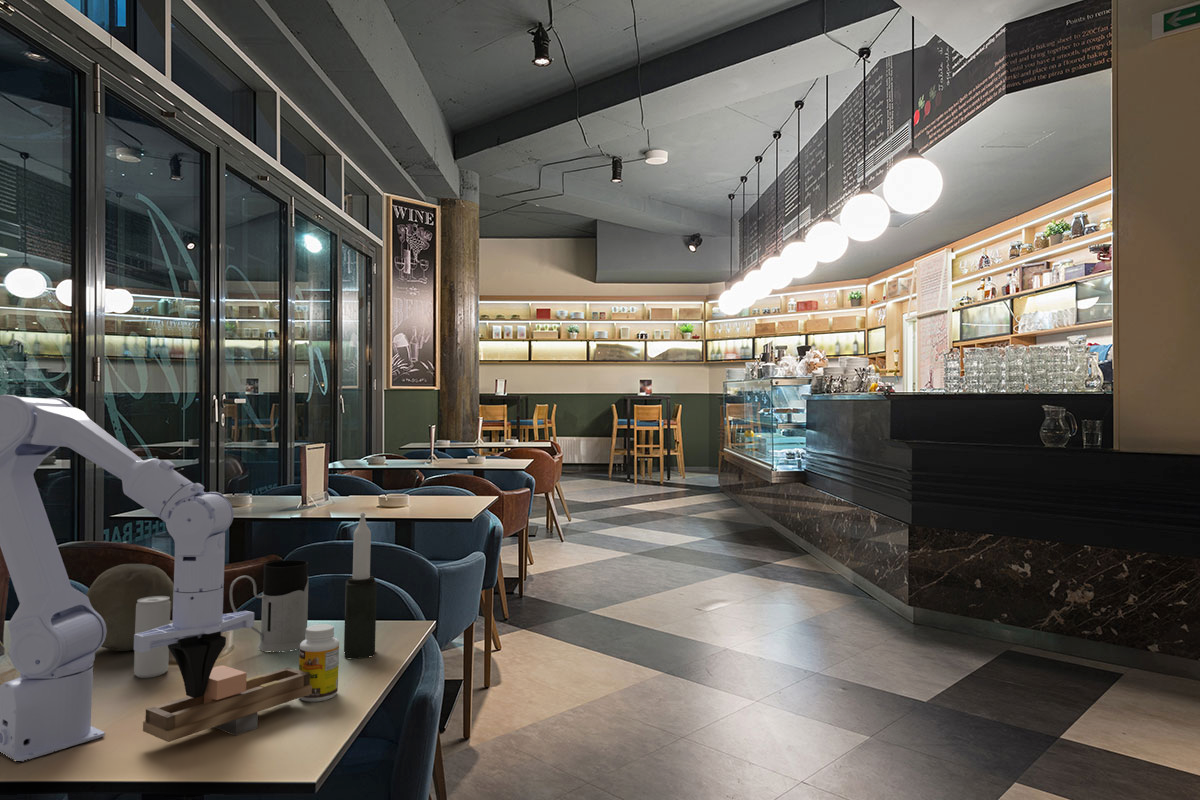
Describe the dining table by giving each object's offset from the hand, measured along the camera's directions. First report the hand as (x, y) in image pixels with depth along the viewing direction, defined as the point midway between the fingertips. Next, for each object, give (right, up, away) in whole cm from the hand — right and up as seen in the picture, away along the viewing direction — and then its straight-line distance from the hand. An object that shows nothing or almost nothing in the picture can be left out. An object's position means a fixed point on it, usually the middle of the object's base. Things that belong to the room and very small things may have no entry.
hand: (195, 695), depth 95 cm
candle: (+9, -8, +37) cm, 39 cm away
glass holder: (-8, -7, +39) cm, 41 cm away
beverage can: (-21, -7, +25) cm, 33 cm away
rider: (+2, -2, +3) cm, 4 cm away
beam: (+3, -6, +4) cm, 8 cm away
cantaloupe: (-33, -7, +39) cm, 52 cm away
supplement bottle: (+10, -7, +16) cm, 20 cm away
